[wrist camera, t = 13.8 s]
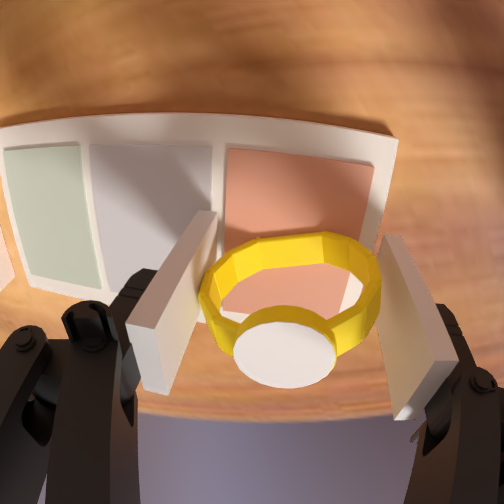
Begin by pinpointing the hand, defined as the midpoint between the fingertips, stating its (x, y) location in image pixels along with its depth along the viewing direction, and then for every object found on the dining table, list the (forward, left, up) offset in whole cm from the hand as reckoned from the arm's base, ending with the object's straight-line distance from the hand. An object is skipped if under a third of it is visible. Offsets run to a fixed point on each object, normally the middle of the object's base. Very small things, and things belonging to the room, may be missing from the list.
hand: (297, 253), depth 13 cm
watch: (0, 0, 0) cm, 1 cm away
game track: (-6, 0, -1) cm, 6 cm away
